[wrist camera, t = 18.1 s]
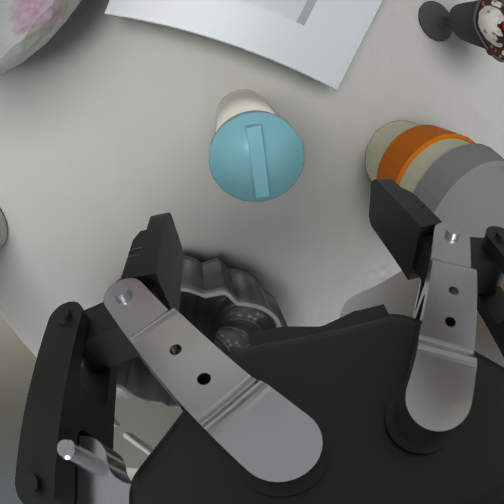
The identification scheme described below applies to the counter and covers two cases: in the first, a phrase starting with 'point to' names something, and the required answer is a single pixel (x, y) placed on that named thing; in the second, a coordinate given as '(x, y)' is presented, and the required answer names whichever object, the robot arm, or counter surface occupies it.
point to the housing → (269, 28)
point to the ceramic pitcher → (29, 27)
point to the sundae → (467, 24)
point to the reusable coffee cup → (442, 173)
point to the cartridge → (253, 149)
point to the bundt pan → (209, 319)
